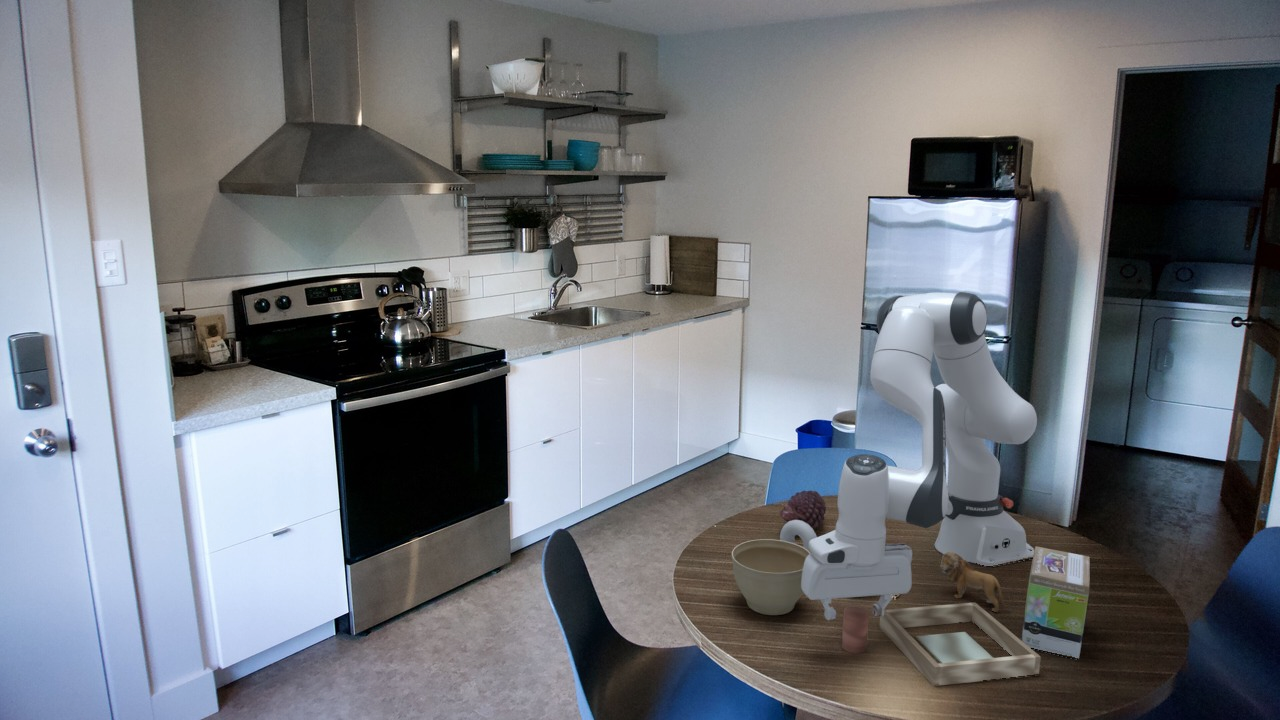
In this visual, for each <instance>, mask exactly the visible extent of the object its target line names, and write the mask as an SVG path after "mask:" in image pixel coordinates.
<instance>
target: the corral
mask: <svg viewBox="0 0 1280 720" xmlns="http://www.w3.org/2000/svg"><path fill="white" fill-rule="evenodd" d="M970 621H972V622H970ZM959 622H962V623H972V624H974V623H975V624H976V625H977V626H978V627H979V629H980V630H981V629H982V630H983V631H984V632H985V633H986V634H988V635H989V636H990V637H991V638H992V639H994V640H995V641H996V642H997V643H998V644H999V645H1000V646H1001V647H1003V649H1002V650H1003V651H1005V650H1006V651H1007V652H1008V653H1009V654H1010V655H1012V656H1010V655H1009V654H1008V653H1007V652H1006V651H1005V652H1006V653H1007V654H1008V655H1009V656H1001V657H993V656H992V655H991V654H990V653H989V652H988V651H987V650H986V649H984V647H982V646H981V645H980V644H979V643H978V642H976V640H975V639H973V638H972V637H971V636H970V635H969V633H967V632H966V631H960V632H948V633H939V634H938V633H936V634H928V635H927V634H926V635H916V637H915V638H916V640H917V641H916V640H915V639H914V638H913V636H912V635H910V633H909V632H908V631H907V630H906V629H905V628H915V627H916V628H917V627H927V626H928V627H929V626H938V625H939V626H940V625H949V624H960V623H959ZM975 624H974V625H975ZM976 625H975V626H976ZM977 626H976V627H977ZM978 627H977V628H978ZM879 629H881V631H882V632H883V633H884V634H885V635H886V636H887V637H888V638H889V639H890V640H891V641H892V643H893V644H894V645H895V646H896V647H897V648H898V649H899V650H900V651H901V652H902V653H903V654H904V656H905V657H906V658H907V659H908V660H909V661H910V663H912V664H913V666H914V667H915V668H916V669H918V671H919V672H920V673H921V675H923V676H924V677H925V678H926V679H927V680H928V682H929V683H930V684H931V685H932V686H933V687H937V686H946V685H947V686H949V685H956V684H965V683H976V682H984V681H983V680H987V681H992V680H991V679H996V680H1003V679H1002V678H1006V679H1011V678H1010V677H1016V678H1019V677H1018V676H1025V677H1028V676H1027V675H1034V674H1040V667H1041V658H1042V657H1041V656H1040V655H1039V654H1038V653H1037V652H1035V650H1034V649H1031V648H1030V647H1028V646H1027V645H1026V644H1025V643H1024V642H1022V639H1020V638H1018V637H1017V635H1015V634H1014V633H1012V631H1011V630H1009V629H1008V628H1007V627H1006V626H1004V625H1003V624H1002V623H1000V622H999V620H997V619H996V618H995V617H993V616H992V615H991V614H990V613H988V612H987V611H986V610H985V609H984V608H982V606H980V605H979V604H978V603H976V602H975V601H973V602H965V603H954V604H953V603H952V604H942V605H941V604H940V605H938V604H937V605H929V606H918V607H917V606H916V607H907V608H904V607H903V608H895V609H894V608H893V609H892V608H891V609H885V611H884V616H879ZM982 630H981V631H982ZM983 631H982V632H983ZM984 632H983V633H984ZM985 633H984V634H985ZM986 634H985V635H986ZM988 635H987V636H988ZM989 636H988V637H989ZM990 637H989V638H990ZM991 638H990V639H991ZM992 639H991V640H992ZM918 642H920V644H921V645H922V646H923V647H924V648H925V649H926V650H927V651H928V652H929V653H930V654H931V655H932V656H933V657H934V658H935V659H936V660H937V661H936V660H935V659H934V658H933V657H932V656H931V655H930V654H929V653H928V652H927V651H926V650H925V649H924V648H923V647H922V646H921V645H920V644H919V643H918ZM996 642H995V643H996ZM997 643H996V644H997ZM998 644H997V645H998ZM999 645H998V646H999ZM1000 646H999V647H1000ZM1001 647H1000V648H1001ZM938 662H939V663H938ZM1000 678H1001V679H1000Z"/></svg>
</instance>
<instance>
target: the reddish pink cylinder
mask: <svg viewBox="0 0 1280 720" xmlns="http://www.w3.org/2000/svg"><path fill="white" fill-rule="evenodd" d="M866 609H867V608H863V607H861V606H854V605H853V606H852V605H851V606H847V607H845V608H844V610H843V621H842V623H843V624H842V637H841V638H842V640H841V642H842V643H841V648H842V649H843V650H845V651H846V652H848V653H851V654H856V655H858V654H864V653H865V652H866V651H867V645H868V630H869V621H870V620H869V617H870V616H869V615H870V613H869V611H868V610H866Z"/></svg>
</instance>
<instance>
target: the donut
mask: <svg viewBox="0 0 1280 720" xmlns="http://www.w3.org/2000/svg"><path fill="white" fill-rule="evenodd" d="M796 536H799V538H800V539H801V541H802V545H803V546H802V547H804V548H805V549H807V550H808V551H809V552H810V550H809V548H808V544H809V541H810V540H812V539H814V538H817V537H818V536H817V534H816V532H815V530H813V529H812V528H811V527H810V526H809V525H808V524H807V523H805V522H803V521H800V520H792V521H789V522H785V524H783V527H782V528H781V529H780V534H779V540H782V541H786V542H791V543H794V544H797V543H796V539H795V538H796ZM810 553H811V552H810Z"/></svg>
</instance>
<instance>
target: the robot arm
mask: <svg viewBox="0 0 1280 720" xmlns="http://www.w3.org/2000/svg"><path fill="white" fill-rule="evenodd" d="M876 315H877V316H876V327H877V330H878V331H877V332H878V337H877V339H876V343H875V346H874V350H873V355H872V360H871V366H870V375H869V377H870V383H871V386H872V388H873V389H874V391H875V392H876V394H877V395H878V396H879V397H880V398H882V400H883V401H885V402H887V403H888V404H889V405H891V406H893V407H895V408H896V409H898V410H900V411H901V412H904V413H905V414H907V415H909V416H910V417H912V418H914V419H915V421H916V420H917V422H919V424H920V426H921V431H922V432H921V433H922V434H921V435H922V437H921V440H922V442H921V445H922V446H921V448H922V449H921V450H922V453H921V456H922V457H921V458H922V459H921V460H922V461H921V462H922V463H921V464H922V466H921V467H920V468H919V469H918V468H917V469H909V468H904V467H899V466H893V465H888V463H887V462H886V460H884V458H882V457H879V456H877V455H875V454H869V453H868V454H867V453H863V454H862V453H861V454H855V455H852V456H850V457H847V459H846V460H845V461H844V464H843V466H842V467H843V468H842V471H841V475H840V480H839V485H838V493H837V504H836V505H837V510H838V517H837V521H836V523H835V529H833V530H832V531H830V532H827V533H825V534H822V535H820V536H817V538H814V539H812V540H810V541H809V544H808V548H809V550H810V552H811V554H809V555H808V556H807V557H806V559H805V562H804V566H803V571H802V579H801V588H802V591H803V592H804V593H803V594H804V595H805V596H806V597H807V598H808V599H809V600H811V601H814V600H815V601H817V600H818V601H819V600H820V602H821V604H822V605H823V608H824V614H823V615H824V618H825V620H827V621H830V620H831V621H833V620H836V615H837V611H836V609H834V607H833V606H830V604H832V599H842V598H846V599H847V598H859V597H862V598H863V597H876V596H880V597H879V599H878V601H877V603H873V604H872V614H873V615H874V616H875V617H880V616H884V611H885V610H886V607H888V605H889V604H890V603H891V602H890V601H892V597H893V595H904V594H908V593H909V592H910V590H911V589H912V581H913V580H912V578H913V577H912V565H911V563H912V562H913V561H912V560H913V550H912V548H911V546H909V545H907V544H906V543H904V542H898V543H886V541H887V540H886V539H887V528H886V519H891V520H895V521H899V522H905V523H906V524H910V525H913V526H915V527H916V526H917V527H919V528H923V529H928V528H930V527H932V526H934V525H936V524H938V523H940V522H941V524H940V529H939V532H938V536H937V538H936V540H935V542H934V548H935V549H936V550H937V551H938V552H939V553H941V554H942V555H943V554H945V553H948V552H953V553H954V554H957V555H959V556H960V557H962V559H964V560H966V561H967V562H968V563H973V564H976V563H977V564H976V565H979V564H980V565H979V566H982V565H984V566H983V567H986V566H993V565H998V564H1002V563H1006V562H1010V561H1016V560H1020V559H1023V558H1028V557H1033V555H1034V550H1035V548H1034V547H1033V546H1031V544H1029V543H1027V536H1026V530H1025V528H1024V527H1023V526H1022V525H1021V523H1019V522H1018V521H1017V520H1015V519H1014V518H1013V517H1012V516H1011V515H1010V514H1009V513H1007V511H1005V509H1004V507H1005V508H1007V509H1012V507H1014V501H1013V500H1012V499H1011V498H1010V499H1009V498H1008V497H1003V496H1002V495H1000V494H999V487H1000V477H1001V465H1000V462H999V459H998V458H997V457H996V455H994V454H993V453H992V452H991V450H990V449H989V448H988V446H987V444H986V443H985V440H987V441H990V442H994V443H998V444H1007V445H1008V444H1009V445H1022V444H1024V443H1026V442H1027V441H1028V440H1029V439H1030V438H1032V436H1033V435H1034V433H1035V431H1036V429H1037V424H1038V417H1037V416H1038V415H1037V412H1036V410H1035V407H1034V406H1033V405H1032V404H1031V403H1030V402H1028V401H1027V400H1025V399H1024V398H1023V397H1021V396H1020V395H1019V394H1018V393H1017V392H1015V390H1014V389H1013V388H1012V387H1011V386H1010V385H1009V383H1008V382H1007V381H1005V379H1004V378H1003V376H1002V375H1001V374H1000V372H999V371H998V369H997V367H996V365H995V363H994V361H993V358H992V355H991V353H990V349H989V346H988V343H987V339H986V335H985V332H986V329H987V323H988V313H987V307H986V304H985V302H984V301H983V300H982V299H981V298H980V297H979V296H978V295H977V294H974V293H969V292H965V291H964V292H963V291H959V292H958V293H957V292H943V291H941V292H939V291H936V292H932V291H931V292H927V293H917V294H911V295H904V296H903V295H898V296H893V297H889V298H887V299H886V300H885V301H884V302H883V303H882V304H881V305H880V306H879V308H878V310H877V314H876ZM933 357H934V358H935V361H936V364H937V368H938V370H939V371H938V372H939V373H940V377H941V379H942V381H943V382H944V383H941V384H938V385H937V386H934V384H933V380H932V376H931V371H932V370H931V368H932V363H933ZM946 452H947V453H946ZM946 456H947V459H946ZM947 460H948V464H947ZM946 464H947V465H948V467H947V465H946ZM947 468H948V469H947ZM946 472H947V473H946ZM1030 550H1032V551H1030ZM998 566H999V565H998ZM993 567H994V566H993Z"/></svg>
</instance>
